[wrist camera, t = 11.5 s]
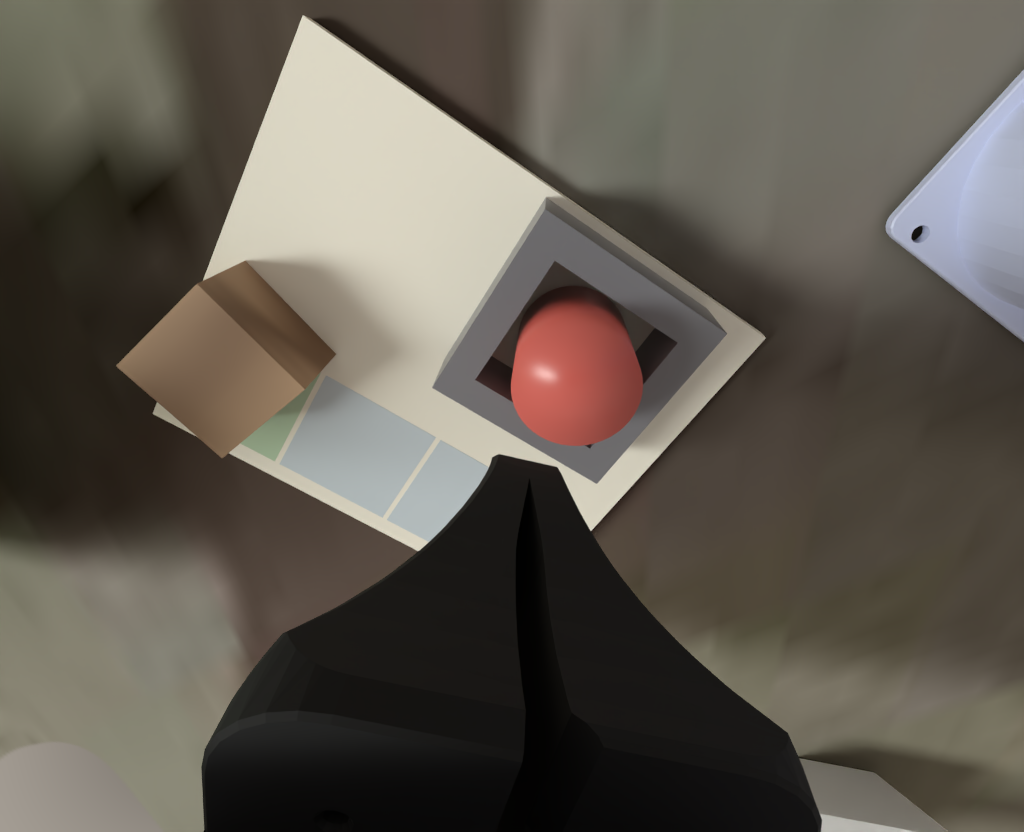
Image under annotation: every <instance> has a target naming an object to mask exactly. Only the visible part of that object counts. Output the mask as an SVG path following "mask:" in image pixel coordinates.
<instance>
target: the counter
mask: <svg viewBox="0 0 1024 832" xmlns="http://www.w3.org/2000/svg"><path fill="white" fill-rule="evenodd" d="M335 355H336V353H335V352H334V351H333V350H332V349H331V348H330V347H329V346H328V345H327V344H326V343H325V342H324V341H323V340H322V339H321V338H320V337H319V336H318V335H317V334H316V333H315V332H314V331H313V330H312V329H311V327H310V326H309V325H308V324H307V323H306V322H305V321H304V320H303V319H302V318H301V317H300V316H299V315H298V314H297V313H296V312H295V311H294V310H293V309H292V308H291V307H290V306H289V305H288V304H287V303H286V302H285V301H284V300H283V299H282V298H281V297H280V296H279V295H278V294H277V293H276V292H275V291H274V289H273V288H272V287H271V286H270V285H269V284H268V283H267V282H266V281H265V280H264V279H263V278H262V277H261V276H260V275H259V274H258V273H257V272H256V271H255V270H254V269H253V268H252V267H251V266H250V265H249V264H248V263H247V262H246V261H243V262H241V263H239V264H237V265H235V266H233V267H231V268H229V269H226V270H224V271H222V272H220V273H218V274H216V275H214V276H212V277H210V278H208V279H206V280H204V281H202V282H200V283H197V284H196V285H195V286H194V287H193V288H192V289H191V290H190V291H189V292H188V293H187V294H186V295H185V296H184V297H183V298H182V299H181V300H180V301H179V302H178V303H177V304H176V305H175V306H174V307H173V309H172V310H171V311H170V312H169V313H168V314H167V315H166V316H165V317H164V318H163V319H162V320H161V321H160V322H159V323H158V324H157V325H156V326H155V327H154V328H153V329H152V330H151V331H150V332H149V333H148V334H147V335H146V336H145V337H144V338H143V339H142V340H141V341H140V342H139V343H138V344H137V345H136V346H135V347H134V348H133V349H132V350H131V351H130V352H129V353H128V354H127V355H126V356H125V357H124V358H123V359H122V360H121V361H120V362H119V363H118V364H117V365H116V367H118V368H119V369H120V370H121V371H122V372H123V373H125V374H126V375H127V376H128V377H129V378H130V379H131V380H133V381H134V382H135V383H136V384H137V385H138V386H139V387H141V388H142V389H143V390H144V391H145V392H146V393H147V394H149V395H150V396H151V397H152V398H153V399H154V400H156V401H157V402H158V403H159V404H160V405H161V406H162V407H164V408H165V409H166V410H167V411H168V412H169V413H170V414H172V415H173V416H174V417H175V418H176V419H177V420H179V421H180V422H181V423H182V424H183V425H184V426H185V427H187V428H188V429H189V430H190V431H191V432H192V433H193V434H195V435H196V436H197V437H198V438H199V439H200V440H201V441H203V442H204V443H205V444H206V445H207V446H208V447H210V448H211V449H212V450H213V451H214V452H215V453H216V454H218V455H219V456H220V457H221V458H223V457H224V456H226V455H227V454H228V453H229V452H230V451H232V450H233V449H234V448H235V447H236V446H238V445H239V444H240V443H241V442H242V441H244V440H245V439H246V438H247V437H248V436H250V435H251V434H252V433H253V432H254V431H256V430H257V429H258V428H259V427H260V426H262V425H263V424H264V423H265V422H267V421H268V420H269V419H270V418H271V417H273V416H274V415H275V414H276V413H277V412H279V411H280V410H281V409H282V408H283V407H285V406H286V405H287V404H288V403H289V402H291V401H292V400H293V399H294V398H295V397H297V396H298V395H299V394H300V393H301V392H303V391H304V390H305V389H306V388H307V387H308V386H309V384H310V383H311V382H312V381H313V380H314V379H315V378H316V377H317V375H318V374H319V373H320V372H321V371H322V370H323V369H324V368H325V366H326V365H327V364H328V363H329V362H330V361H331V360H332V359H333V357H334V356H335Z"/></svg>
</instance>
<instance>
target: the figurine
mask: <svg viewBox="0 0 1024 832" xmlns="http://www.w3.org/2000/svg"><path fill="white" fill-rule="evenodd" d="M799 759H800V762H801V764H802V766H803V769H804V772H805V774H806V777H807V780H808V783H809V785H810V788H811V791H812V794H813V797H814V800H815V802H816V805H817V808H818V810H819V813H820V816H821V818H822V826H821V832H949V831H947V830H946V829H945V828H944V827H942V826H941V825H940V824H939V823H937V822H936V821H935V820H934V819H932V818H931V817H930V816H929V815H927V814H926V813H925V812H924V811H922V810H921V809H920V808H919V807H917V806H916V805H915V804H914V803H912V802H911V801H910V800H908V799H907V798H906V797H905V796H903V795H902V794H901V793H900V792H898V791H897V790H896V789H895V788H893V787H892V786H891V785H890V784H888V783H887V782H886V781H885V780H883V779H882V778H881V777H880V776H878V775H877V774H876V773H875V772H870V771H864V770H859V769H854V768H849V767H843V766H838V765H833V764H827V763H822V762H817V761H812V760H806V759H801V758H799Z"/></svg>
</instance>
